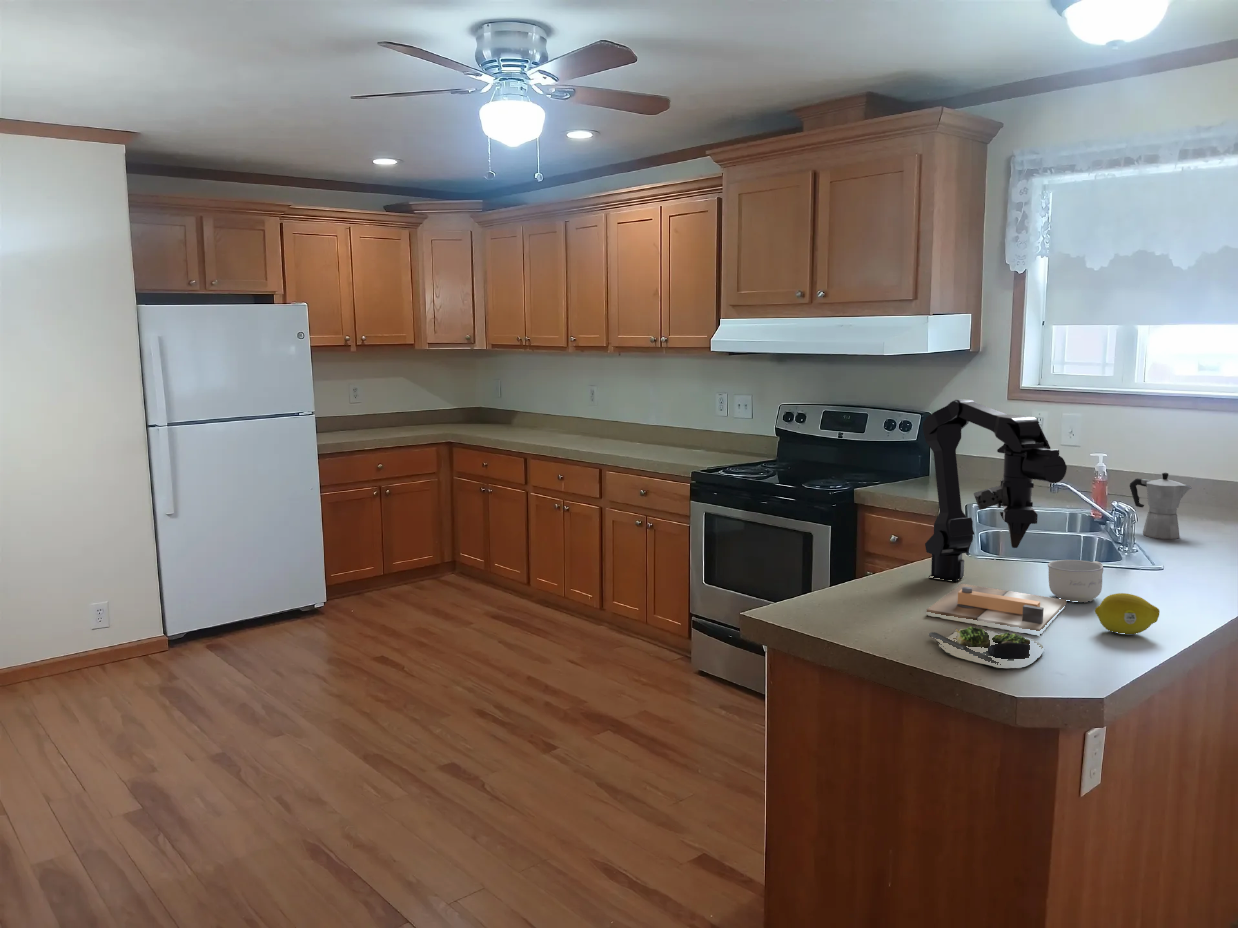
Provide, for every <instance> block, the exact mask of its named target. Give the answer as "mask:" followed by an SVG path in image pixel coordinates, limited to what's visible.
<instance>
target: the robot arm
mask: <svg viewBox="0 0 1238 928" xmlns="http://www.w3.org/2000/svg"><path fill="white" fill-rule="evenodd" d="M969 423H971V424H974V425H977V426H979V427H980V428H984V429H987V430H989V431H991V432H993V434H994V436H995V438H997V440H999V441H1001V442H1002V443H1003V444H1002V445H1001V446H1000V447H999V448H997V449H996V452H997V453H1000V454H1003V455H1004V456H1003V457H1004V458H1003V474H1002V475H1003V476H1002V477H1003V478H1002V479H1001V480H1000V481H999V482H1000V483H999V484H1000V485H998V486H991V487H989V488H985V489H982V490H978V491H975V492H974V493H973V496H974V499H975V501H976V505H977V507H978V510H979V511H981V510H985V509H987V508H990V507H992V506H997V509H1001V507H1002V508H1003V511H1000V512H999V514H1000V517H1001V520H1003V522H1004V523H1006V524H1007V529H1008V535H1009V539H1010V541H1009V542H1010V545H1011V548H1013V549H1017V548H1018V547H1019V546H1020V543H1021V542H1022V540H1023V538H1024V536H1025V534H1026V533H1027V531H1028V529H1029V528H1030V525H1031V524H1032V525H1033V524H1034V525H1035V524H1036V525H1037V524H1038V518H1039V517H1038V515H1039V514H1038V512H1036V510H1034V508H1033V506H1034V502H1033V501H1032V499H1033V495H1032V494H1033V488H1034V484H1035V483H1034V482H1033V480H1034V481H1039V482H1046V483H1050V484H1057V483H1060V482H1061V481H1063V479H1064V478H1065V477H1066V474H1067V469H1068V466H1067V465H1066V461H1065V459H1064V458H1063V457H1062V456H1060V450H1059V449H1058V448H1057V449H1056V448H1053V449H1052V448H1051V446H1050V444H1049V441H1048V440H1047V438H1046V435H1045V433H1044V431H1043V429H1042V427H1041V425H1040V423H1039V419H1038V418H1036V417H1033V416H1029V415H1021V414H1018V415H1017V414H1006V412H1005V413H1004V412H1002V411H999V410H996V409H995V408H991V407H989V406H986V405H984V404H982V403H978V402H976V401H974V400H973V399H970V398H964V399H963V398H962V399H961V398H960V399H954V400H952V401H950V402H949V403H948V404H947V405H946V406H944V407H941V408H939V409H937V410H935V411H934V412H932V413H931V414H929V415H927V416H926V417H925V419H924V420H923V422H922V431H923V436H924V440H925V442H926V444H927V445H928V447H929V448H930V449H931V451H932V453H933V458H934V459H933V460H934V469H935V471H934V472H935V482H936V489H937V490H936V491H937V499H938V508H939V511H938V512H939V513H938V515H937V517H936V519H935V522H934V523H933V534H932V535H931V536H930V537H929V538H928V540H927V541H925V543H924V546H925V552H926V553H928V554H931V566H930V568H931V570H930V571H931V573H930V575H928V578H929V577H930V576H934V577H933V578H940V579H944V580H952V581H957V580H958V579H960V578H961V579H962V578H964V577H963V576H965V574H964V571H965V560H964V559H963V554H968V553H969V551H970V547H971V545H972V543H973V541H974V535H975V532H974V527H973V525H974V524H973V523H974V522H973V518H972V517H969V516H968V517H967V516H966V514H965V513H964V511H963V508H962V498H961V488H960V479H959V470H958V460H957V458H958V457H957V448H958V447H959V444H960V441H961V440H962V430H963V429H964V428H965V427H967V426H968V424H969ZM961 579H960V580H961ZM958 581H959V580H958ZM958 581H957V582H958Z"/></svg>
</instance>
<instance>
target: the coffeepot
mask: <svg viewBox="0 0 1238 928" xmlns="http://www.w3.org/2000/svg"><path fill="white" fill-rule="evenodd" d="M1169 474H1170V473H1167V472H1162V473H1161V476H1162V478H1160V479H1153V480H1151V479H1144V478H1135V479H1134V480H1133V481H1131V482H1130V483H1129V490H1130V492H1131V495H1132V498H1133V503H1134V506H1135V507H1137V508H1142V509H1143V508H1144V506H1145V504H1144V503H1140V496H1139V492H1138V488H1137V486H1142V487H1146V495H1147V504H1148V507H1149V508H1148V509H1149V510H1148V511H1147V515H1146V518H1145V522H1144V526H1143V529H1142V533H1143V536H1144V537H1148V538H1152V539H1153V538H1154V539H1161V540H1175V539H1178V538H1180V537H1181V536H1180V529H1179V521H1178V520H1179V519H1178V514H1177V513H1178V512H1177V511H1178V508H1179V506H1180V504H1181V499H1182V498H1183V497H1184V496H1185V495H1186V494H1187V492H1188V491H1190V490H1192V486H1190V485H1188V484H1183V483H1182V482H1179V481H1175V480H1172V479H1168V477H1169Z"/></svg>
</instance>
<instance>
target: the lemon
mask: <svg viewBox="0 0 1238 928" xmlns="http://www.w3.org/2000/svg"><path fill="white" fill-rule="evenodd" d="M1094 612H1095V615H1096V616H1097V617H1098V620H1099V622H1100V624H1101V625H1102V627H1103V628H1104V629H1105V630H1108V631H1109V630H1110V631H1109V632H1111V631H1113V632H1118V633H1125V634H1133V635H1136V633H1137V634H1141V633H1142V632H1144V631H1146V630H1148V629H1149V628H1150V627H1151V626H1152V625H1154V624H1155V623H1156V622H1158V619H1159V617H1160V609H1159V608H1158V607H1157V606H1156V605H1153V604H1151V603H1150V602H1149V601H1147V600H1146V599H1144V598H1142V597H1141V596H1138V595H1135V594H1132V593H1123V592H1118V593H1113V594H1109V595H1106V597H1105V598H1104V599H1103V600H1102V601H1101V602H1100V604H1099V605H1098V606H1096V608H1095V609H1094ZM1113 632H1112V633H1113Z"/></svg>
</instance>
